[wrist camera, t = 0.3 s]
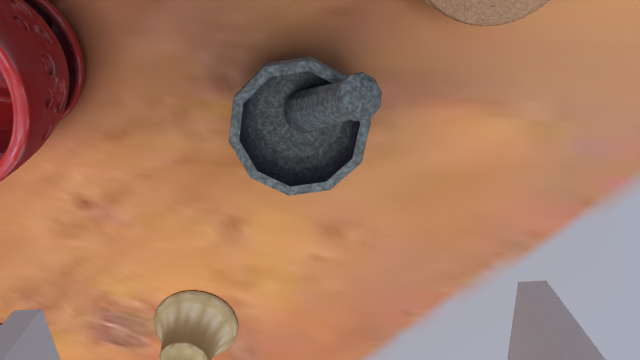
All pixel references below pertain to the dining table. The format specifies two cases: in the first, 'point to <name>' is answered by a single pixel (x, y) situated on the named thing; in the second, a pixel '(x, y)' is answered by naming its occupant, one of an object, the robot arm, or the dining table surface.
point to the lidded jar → (486, 10)
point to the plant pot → (34, 77)
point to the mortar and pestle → (302, 124)
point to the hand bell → (194, 326)
